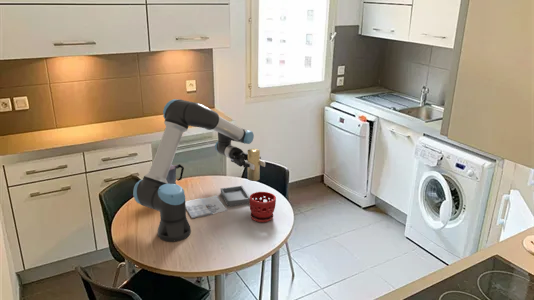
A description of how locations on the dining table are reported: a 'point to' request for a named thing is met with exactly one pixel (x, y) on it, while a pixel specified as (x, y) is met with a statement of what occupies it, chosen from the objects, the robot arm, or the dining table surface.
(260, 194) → the plant pot
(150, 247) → the dining table surface
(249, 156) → the cylinder
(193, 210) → the bicycle print cloth
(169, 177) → the moka pot
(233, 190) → the slate tray
